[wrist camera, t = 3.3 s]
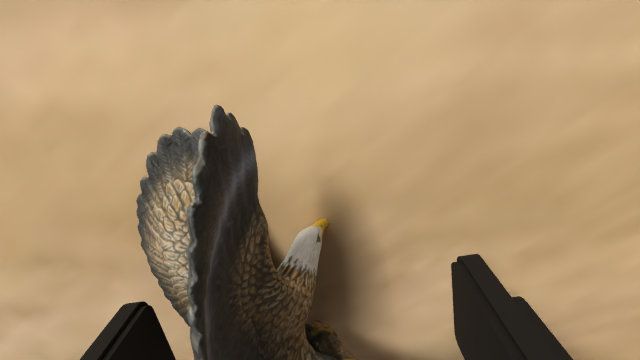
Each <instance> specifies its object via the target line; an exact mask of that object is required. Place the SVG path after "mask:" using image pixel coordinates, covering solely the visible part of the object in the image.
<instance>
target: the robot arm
mask: <svg viewBox="0 0 640 360" xmlns="http://www.w3.org/2000/svg"><path fill="white" fill-rule="evenodd" d="M451 269H452V289H453V308H454V328H455V336H456V340H457V343H458V346H459V348H460V350H461V353H462V355H463V357H464V359H465V360H573V359H572V358H571V357H570V355H569V354H568V353H567V352H566V350H565V349H564V348H563V347H562V345H561V344H560V343H559V342H558V340H557V339H556V338H555V337H554V335H553V334H552V333H551V332H550V330H549V329H548V328H547V327H546V325H545V324H544V323H543V322H542V320H541V319H540V318H539V317H538V315H537V314H536V313H535V312H534V310H533V309H532V308H531V307H530V305H529V304H528V303H527V302H526V301H525V300H524V299H523V298H522V297H520V296H518V297H511V296H510V295H509V293H508V292H507V291H506V289H505V288H504V287H503V285H502V284H501V283H500V281H499V280H498V279H497V277H496V276H495V275H494V273H493V272H492V271H491V269H490V268H489V267H488V266H487V264H486V263H485V262H484V260H483V259H482V258H481V256H480V255H479V254H473V255H466V256H459V257H458V258H457V262H453V263H452V264H451ZM80 360H176V359H175V357H174V354H173V352H172V350H171V348H170V345H169V343H168V341H167V339H166V336H165V334H164V332H163V330H162V327H161V325H160V323H159V321H158V318H157V316H156V314H155V312H154V309H153V308H152V306H149V305H148V304H147V303H146V302H135V303H128V304H125V305H123V306H122V307H121V308H120V309H119V311H118V312H117V313H116V314H115V316H114V317H113V318H112V319H111V321H110V322H109V323H108V324H107V326H106V327H105V328H104V330H103V331H102V332H101V333H100V335H99V336H98V337H97V338H96V340H95V341H94V342H93V343H92V345H91V346H90V347H89V349H88V350H87V351H86V352H85V354H84V355H83V356H82V357H81V359H80Z"/></svg>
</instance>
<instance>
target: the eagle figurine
mask: <svg viewBox="0 0 640 360" xmlns="http://www.w3.org/2000/svg"><path fill="white" fill-rule="evenodd" d="M210 130H211V133H209V132H208V131H205V130H203V129H201V128H198V129H196V130H195V131H194V132H193V133H192V134H190V133H189V132H188V131H187V130H186V129H184V128H181V127H177V128H175V129H174V131H173V135H167V134H163V135H161V137H160V138H159V140H158V145H157V152H156V153H153V152H152V153H150V154H149V155H148V156H147V160H146V167H147V172H148V175H149V178H146V177H143V178H142V179H141V181H140V186H141V190H142V194H140V195H139V196H138V198H137V204H138V209H137V216H138V218H139V225H138V230H139V233H140V236H141V238H142V242H141V246H142V248H143V250H144V251H145V254H146V255H147V259H148V263H149V265H150V267H151V272H152V273H153V275H154V276H155V277H156V278H157V279H158V284H159V286H160V287H161V288H162V289H163V291H164V295H165V297H166V298H167V299H168V300H170V301H171V304H172V306H173V308H174V309H175V310H176V311H177V312H178V313H179V315H180V316H181V317H183V318H184V320H185V322H186V324H188V326H190V327H191V328H190V339H191V344H192V349H193V353H194V360H355V359H354V358H353V357H352V356H351V355H350V354H349V353H348V352H347V351H346V350H344V349H343V347H342V345H341V342H340V341H339V340H338V339H337V335H336V333H335V332H334V331H333V330H332V329H330V327H329V325H327V324H323V323H320V322H318V321H314V322H313V324H312V325H308V324H305V322H306V320H307V318H308V315H309V313H310V310H311V307H312V303H313V299H314V293H315V281H316V277H317V267H318V261H319V255H320V250H321V246H322V236H323V232H324V230H325V228H326V227H328V225H329V221H328V220H327V219H320V220H318V221H317V222H316V223H314V224H313V225H311V226H309V227H307V228H305V229H303V230H302V231H301V232H299V234H298V235H297V236H296V238H295V240H294V242H293V244H292V246H291V248H290V250H289V251H288V253H287V255H286V257H285V259H284V260H283V262H282V263H281V265H280V266H279V267H278V268H277V269H275V267H274V265H273V262H272V258H271V253H270V247H269V233H268V225H267V221H266V218H265V215H264V213H263V211H262V209H261V206H260V204H259V200H258V195H257V192H258V170H257V162H256V156H255V150H254V145H253V140H252V138H251V136H250V133H249V131H248V130H247V129H245V128H244V127H241V128H240V127H239V125H238V123H237V120H236V118H235V117H234V115H233V114H231V113H227V115H226V114H225V112H224V109H223V108H222V107H221V106H219V105H215V106H214V108H213V110H212V115H211V119H210Z"/></svg>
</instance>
